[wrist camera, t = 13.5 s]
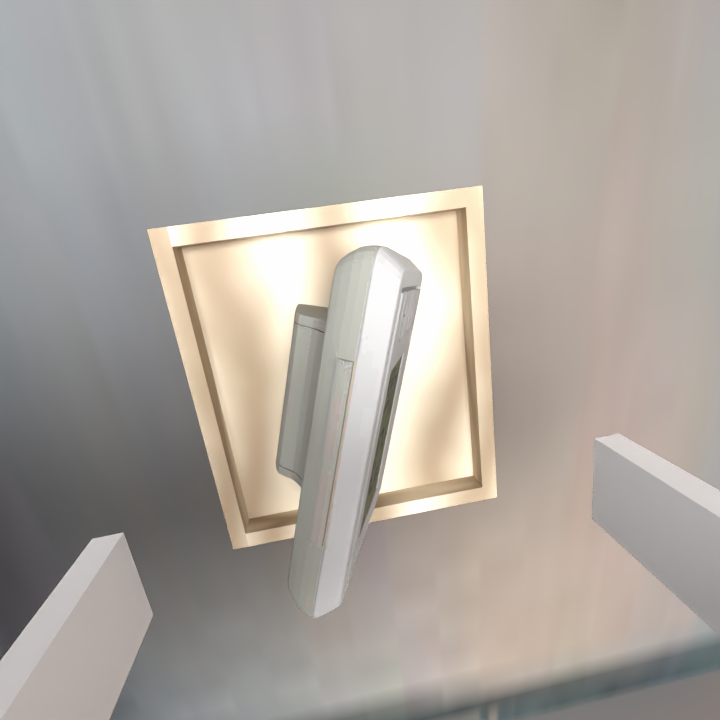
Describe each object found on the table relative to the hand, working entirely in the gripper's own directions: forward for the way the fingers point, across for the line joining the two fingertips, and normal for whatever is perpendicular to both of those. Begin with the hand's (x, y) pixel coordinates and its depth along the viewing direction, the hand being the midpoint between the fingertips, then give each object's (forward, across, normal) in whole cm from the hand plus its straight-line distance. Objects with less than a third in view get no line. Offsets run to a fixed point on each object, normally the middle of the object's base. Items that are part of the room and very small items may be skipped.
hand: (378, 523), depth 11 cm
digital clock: (+15, +1, -1) cm, 15 cm away
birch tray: (+16, 0, 0) cm, 16 cm away
